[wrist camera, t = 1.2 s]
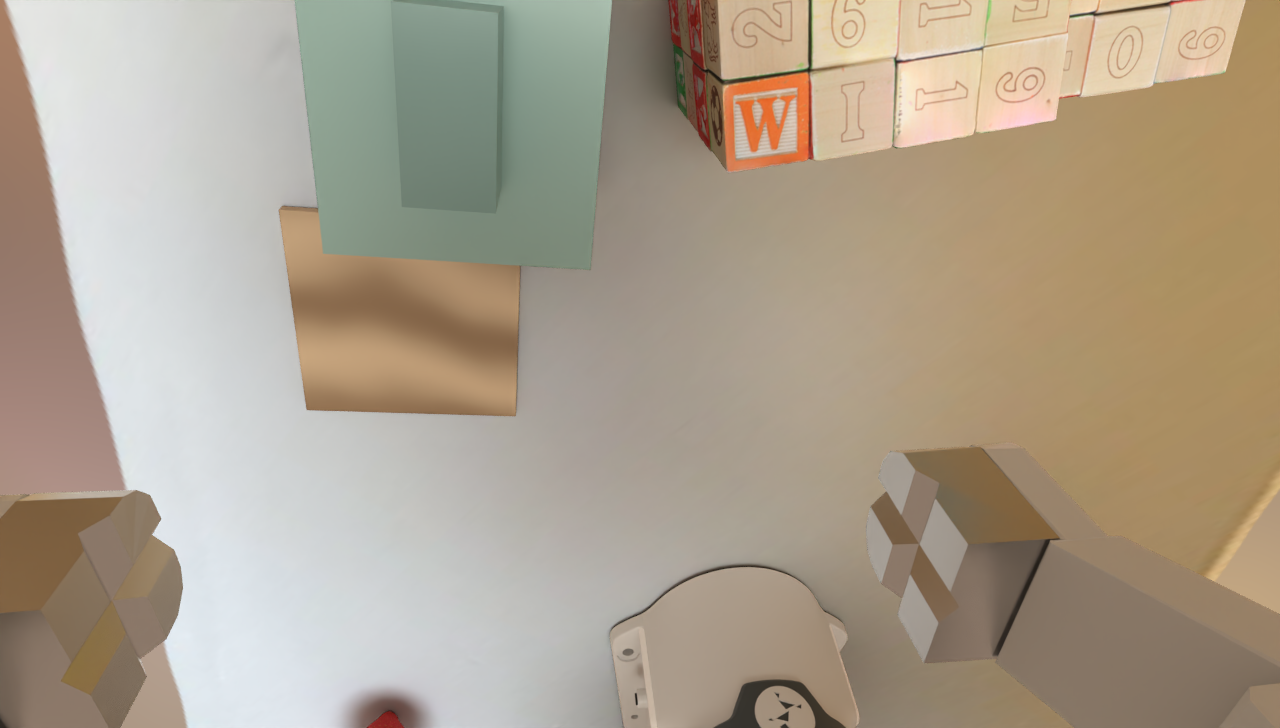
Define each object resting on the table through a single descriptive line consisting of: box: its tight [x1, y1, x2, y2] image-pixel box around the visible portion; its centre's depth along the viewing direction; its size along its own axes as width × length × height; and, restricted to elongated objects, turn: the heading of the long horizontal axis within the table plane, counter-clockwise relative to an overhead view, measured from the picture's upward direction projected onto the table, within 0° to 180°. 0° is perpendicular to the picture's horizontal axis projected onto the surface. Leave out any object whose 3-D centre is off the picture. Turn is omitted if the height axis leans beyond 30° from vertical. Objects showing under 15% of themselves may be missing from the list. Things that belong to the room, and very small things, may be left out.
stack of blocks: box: [668, 0, 1246, 173], centre depth 30 cm, size 21×6×12 cm, turn 97°
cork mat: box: [279, 206, 520, 416], centre depth 40 cm, size 12×12×1 cm
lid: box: [295, 0, 612, 270], centre depth 24 cm, size 12×10×5 cm
